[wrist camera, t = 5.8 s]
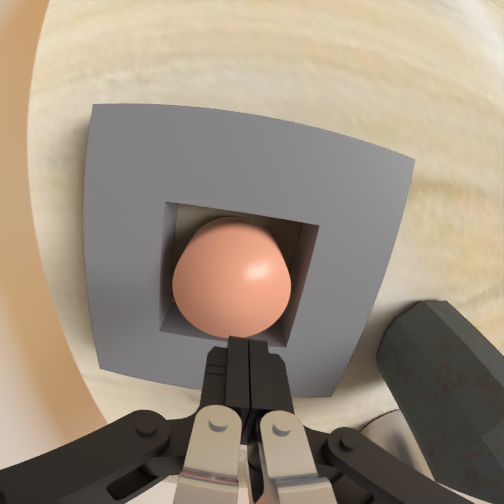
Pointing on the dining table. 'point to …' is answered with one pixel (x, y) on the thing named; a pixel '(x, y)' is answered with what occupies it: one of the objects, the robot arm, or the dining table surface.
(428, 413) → the bottle
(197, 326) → the button cap
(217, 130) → the button box
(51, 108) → the dining table surface
